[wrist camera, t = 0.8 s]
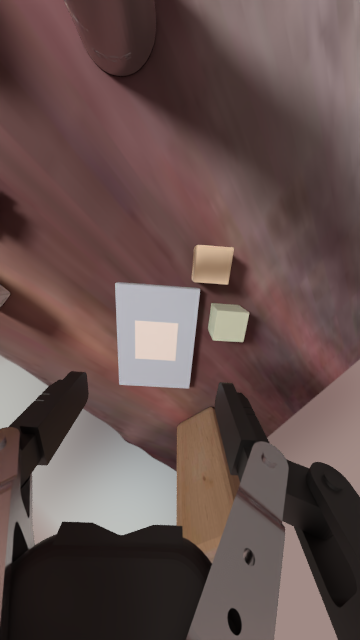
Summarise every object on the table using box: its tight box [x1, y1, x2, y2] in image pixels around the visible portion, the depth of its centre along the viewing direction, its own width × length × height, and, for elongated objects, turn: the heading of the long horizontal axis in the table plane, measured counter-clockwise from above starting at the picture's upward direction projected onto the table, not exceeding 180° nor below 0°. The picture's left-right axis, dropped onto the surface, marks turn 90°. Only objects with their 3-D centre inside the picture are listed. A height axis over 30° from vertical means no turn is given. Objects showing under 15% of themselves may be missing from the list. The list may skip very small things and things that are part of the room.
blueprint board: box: [115, 282, 200, 388], centre depth 33 cm, size 20×14×2 cm
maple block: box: [192, 245, 234, 285], centre depth 27 cm, size 5×5×5 cm
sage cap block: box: [208, 303, 249, 342], centre depth 30 cm, size 5×5×5 cm
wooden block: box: [177, 407, 240, 563], centre depth 31 cm, size 10×10×20 cm
